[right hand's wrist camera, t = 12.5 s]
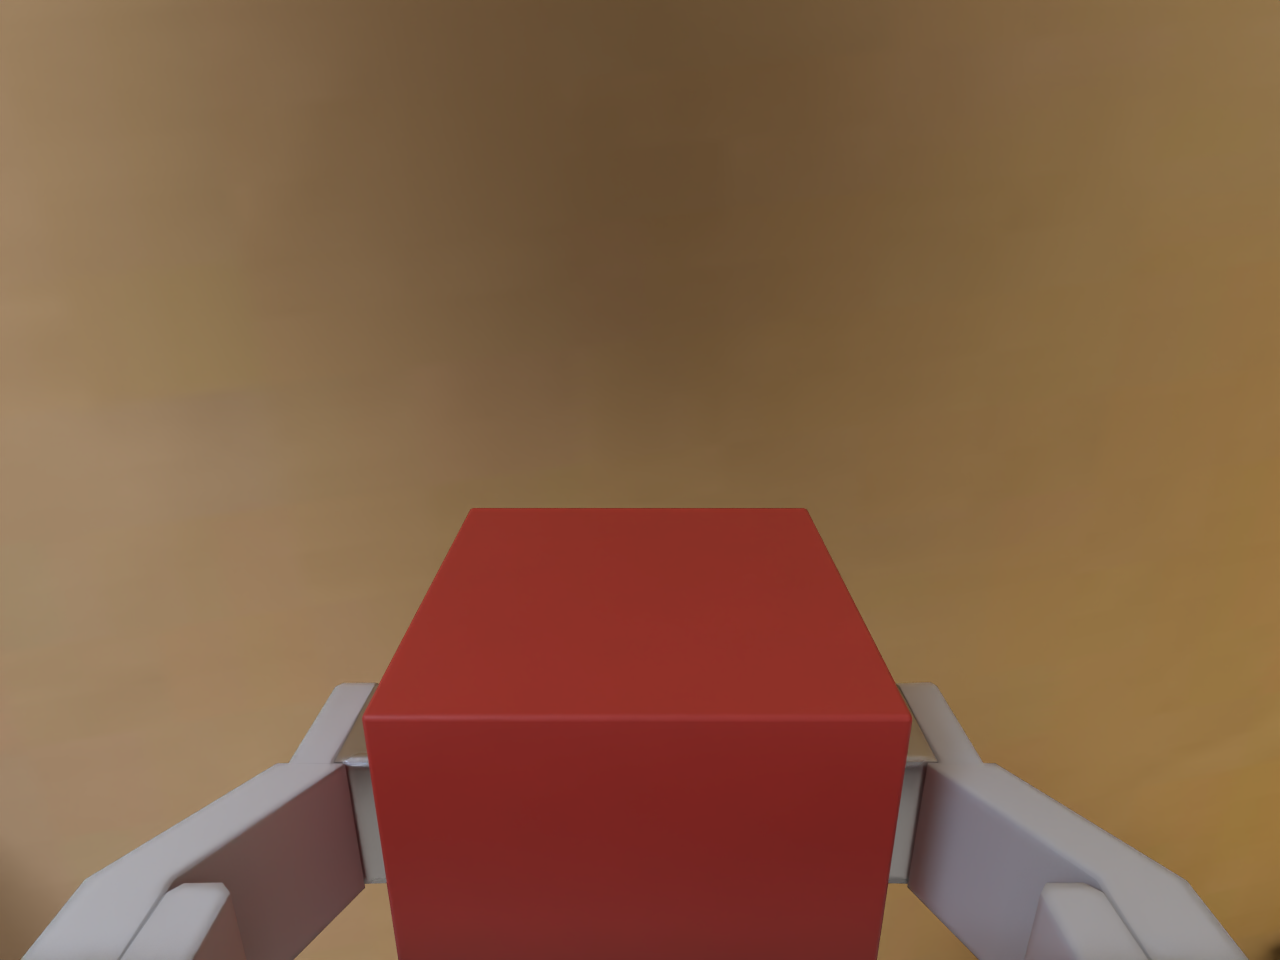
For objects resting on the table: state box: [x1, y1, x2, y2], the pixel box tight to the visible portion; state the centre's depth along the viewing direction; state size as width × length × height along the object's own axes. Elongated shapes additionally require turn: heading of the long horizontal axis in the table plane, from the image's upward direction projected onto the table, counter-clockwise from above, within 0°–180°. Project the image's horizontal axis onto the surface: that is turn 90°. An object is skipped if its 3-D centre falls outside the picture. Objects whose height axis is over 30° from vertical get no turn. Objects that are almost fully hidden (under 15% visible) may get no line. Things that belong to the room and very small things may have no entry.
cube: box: [362, 508, 913, 960], centre depth 10 cm, size 5×5×5 cm
